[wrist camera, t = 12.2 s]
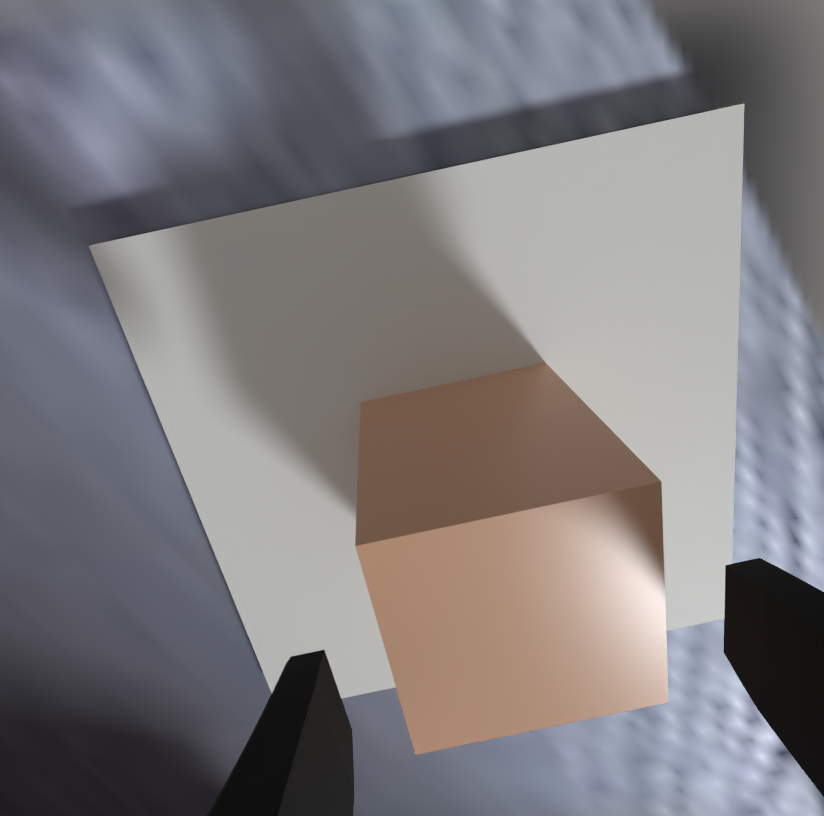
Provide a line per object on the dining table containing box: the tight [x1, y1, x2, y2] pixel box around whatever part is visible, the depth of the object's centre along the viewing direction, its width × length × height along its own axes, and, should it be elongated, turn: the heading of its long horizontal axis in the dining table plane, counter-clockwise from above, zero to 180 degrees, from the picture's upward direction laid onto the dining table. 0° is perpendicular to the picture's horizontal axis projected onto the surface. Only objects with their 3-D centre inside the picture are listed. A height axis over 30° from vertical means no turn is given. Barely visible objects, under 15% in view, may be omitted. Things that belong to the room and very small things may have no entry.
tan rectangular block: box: [355, 363, 669, 755], centre depth 13 cm, size 5×5×7 cm
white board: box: [89, 104, 744, 698], centre depth 15 cm, size 16×16×6 cm
